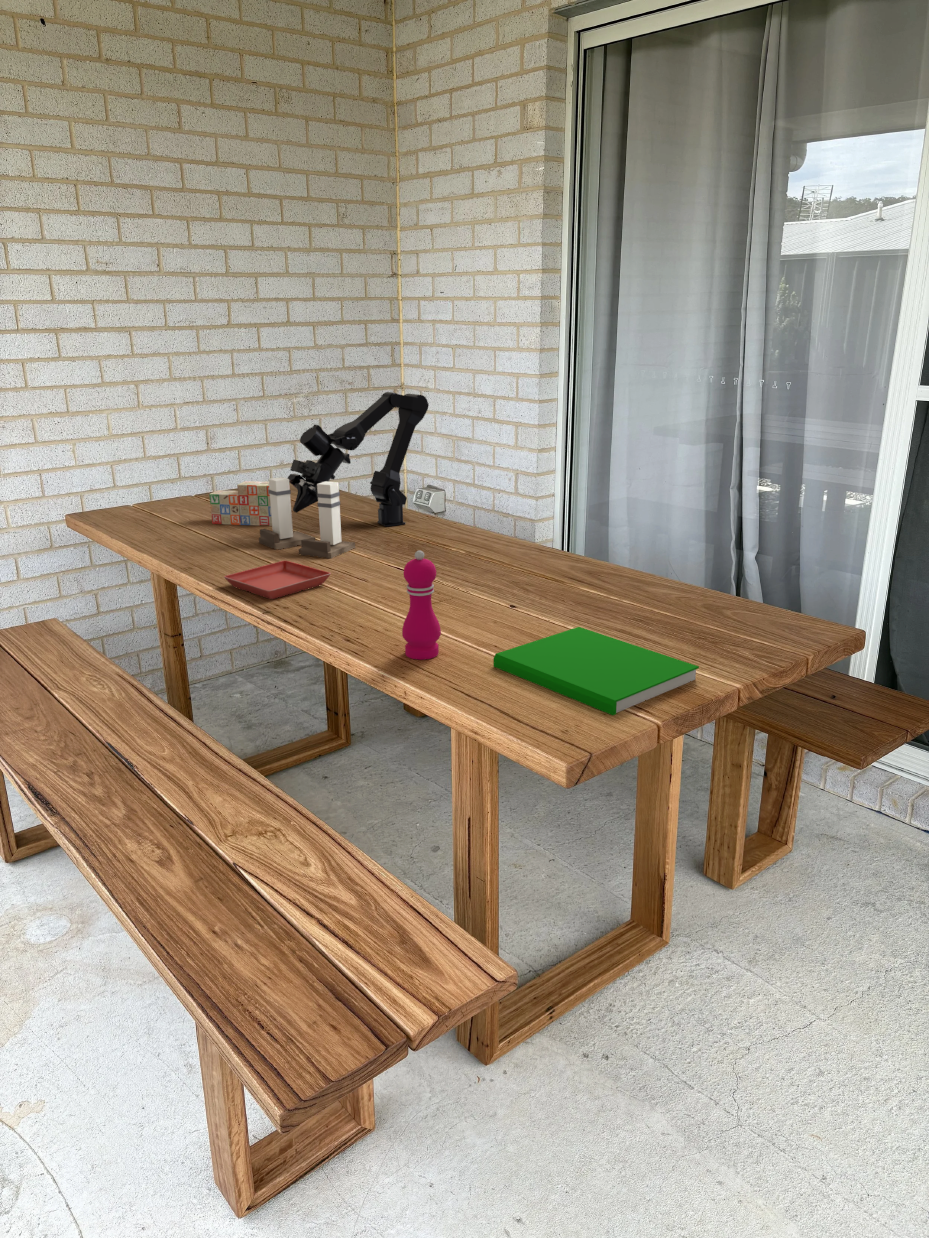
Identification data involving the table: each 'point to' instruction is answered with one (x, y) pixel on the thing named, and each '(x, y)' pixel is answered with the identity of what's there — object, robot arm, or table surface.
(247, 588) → the plant saucer
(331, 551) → the base
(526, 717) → the table surface
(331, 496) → the post
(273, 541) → the base
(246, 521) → the stack of blocks
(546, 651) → the book
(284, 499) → the post
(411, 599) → the pepper mill
